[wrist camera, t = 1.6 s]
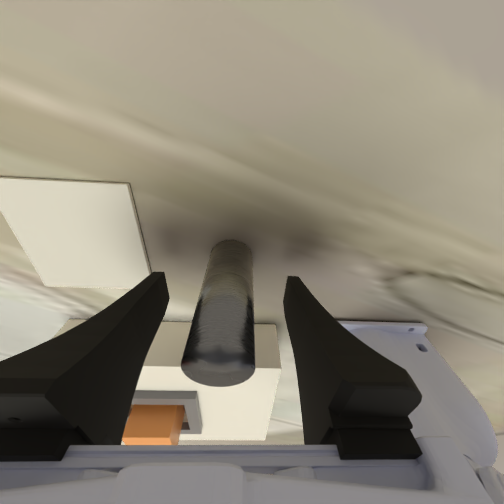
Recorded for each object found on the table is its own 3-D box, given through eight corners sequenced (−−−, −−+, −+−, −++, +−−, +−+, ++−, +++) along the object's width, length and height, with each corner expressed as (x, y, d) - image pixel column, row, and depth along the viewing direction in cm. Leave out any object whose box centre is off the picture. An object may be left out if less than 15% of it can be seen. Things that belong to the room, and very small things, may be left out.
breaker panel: (275, 324, 19) (282, 376, 15) (262, 399, 27) (265, 447, 23) (69, 319, 19) (21, 372, 15) (115, 397, 26) (91, 446, 22)
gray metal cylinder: (253, 240, 15) (257, 346, 8) (251, 275, 16) (253, 387, 10) (209, 239, 15) (176, 344, 8) (211, 273, 16) (185, 386, 9)
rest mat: (129, 183, 13) (126, 184, 12) (154, 287, 17) (153, 289, 17) (-15, 175, 12) (-20, 177, 12) (48, 283, 16) (45, 286, 16)
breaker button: (180, 393, 19) (169, 437, 16) (184, 411, 21) (175, 454, 18) (138, 392, 19) (120, 437, 16) (147, 411, 21) (132, 454, 18)
